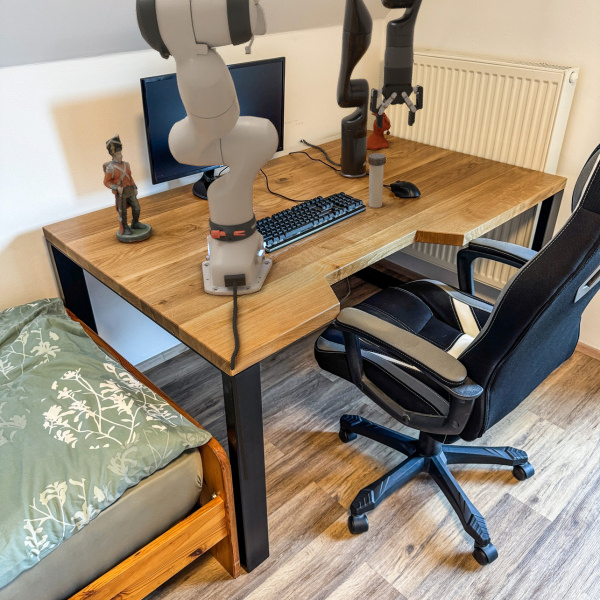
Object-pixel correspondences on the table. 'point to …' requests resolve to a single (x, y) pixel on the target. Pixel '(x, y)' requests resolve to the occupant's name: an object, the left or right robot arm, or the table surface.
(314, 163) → the table surface
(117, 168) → the figurine
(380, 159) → the lid
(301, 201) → the table surface
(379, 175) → the white cylinder
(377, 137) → the toy
